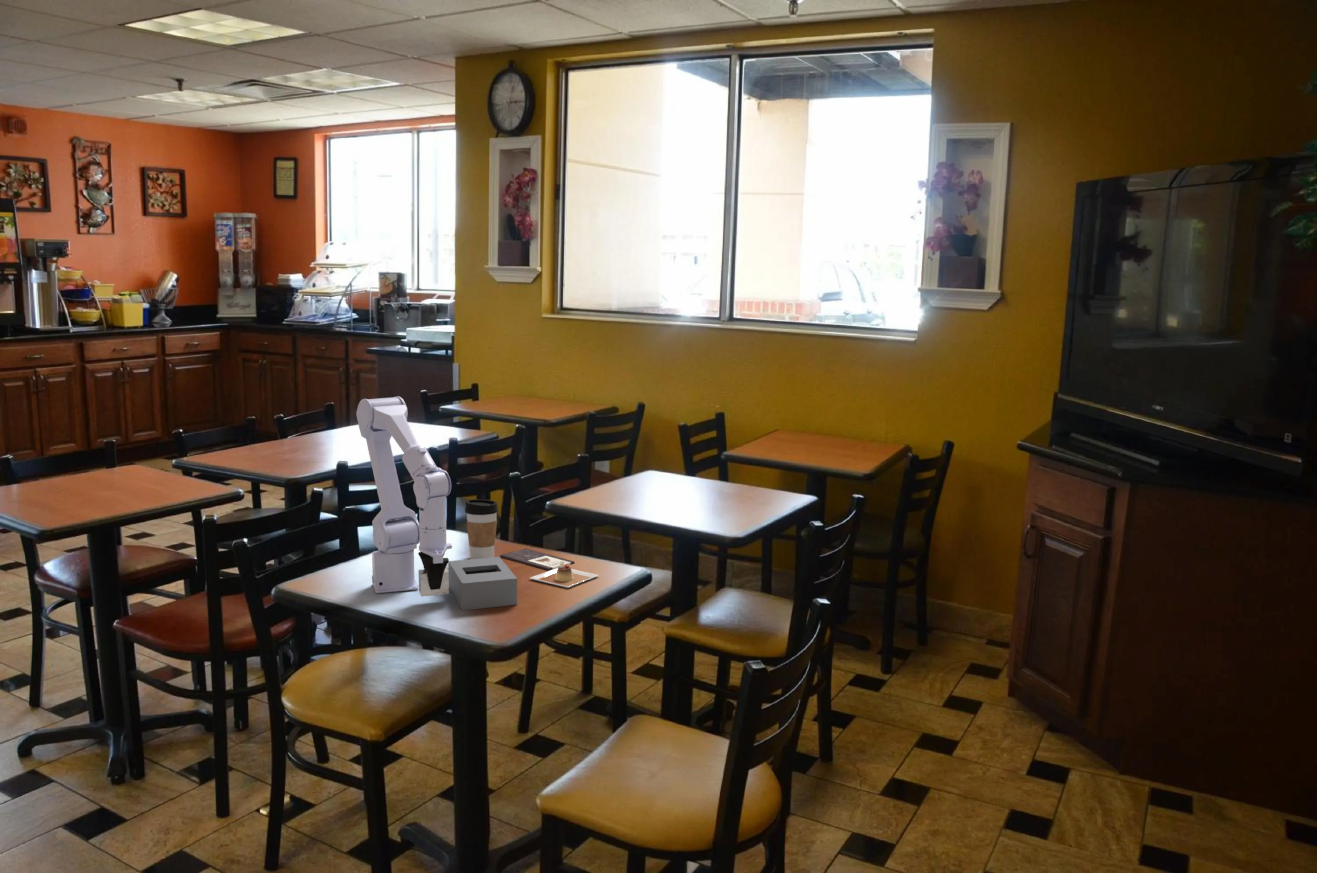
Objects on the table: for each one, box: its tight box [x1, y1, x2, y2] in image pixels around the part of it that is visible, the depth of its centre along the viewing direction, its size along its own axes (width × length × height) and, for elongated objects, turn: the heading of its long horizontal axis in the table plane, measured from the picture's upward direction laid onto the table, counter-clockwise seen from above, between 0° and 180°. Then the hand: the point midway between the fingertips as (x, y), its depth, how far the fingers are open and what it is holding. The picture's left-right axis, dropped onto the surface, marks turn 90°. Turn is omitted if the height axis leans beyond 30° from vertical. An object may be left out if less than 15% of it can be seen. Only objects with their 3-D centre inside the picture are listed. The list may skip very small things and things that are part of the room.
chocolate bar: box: [499, 548, 575, 571], centre depth 252 cm, size 9×1×18 cm
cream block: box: [418, 567, 450, 597], centre depth 216 cm, size 6×4×5 cm, turn 111°
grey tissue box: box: [447, 556, 518, 611], centre depth 222 cm, size 12×18×6 cm, turn 21°
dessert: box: [529, 562, 599, 589], centre depth 236 cm, size 12×12×5 cm
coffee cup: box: [464, 498, 499, 559], centre depth 251 cm, size 8×8×15 cm
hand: (433, 586), depth 216 cm, fingers closed on cream block, 3 cm apart
